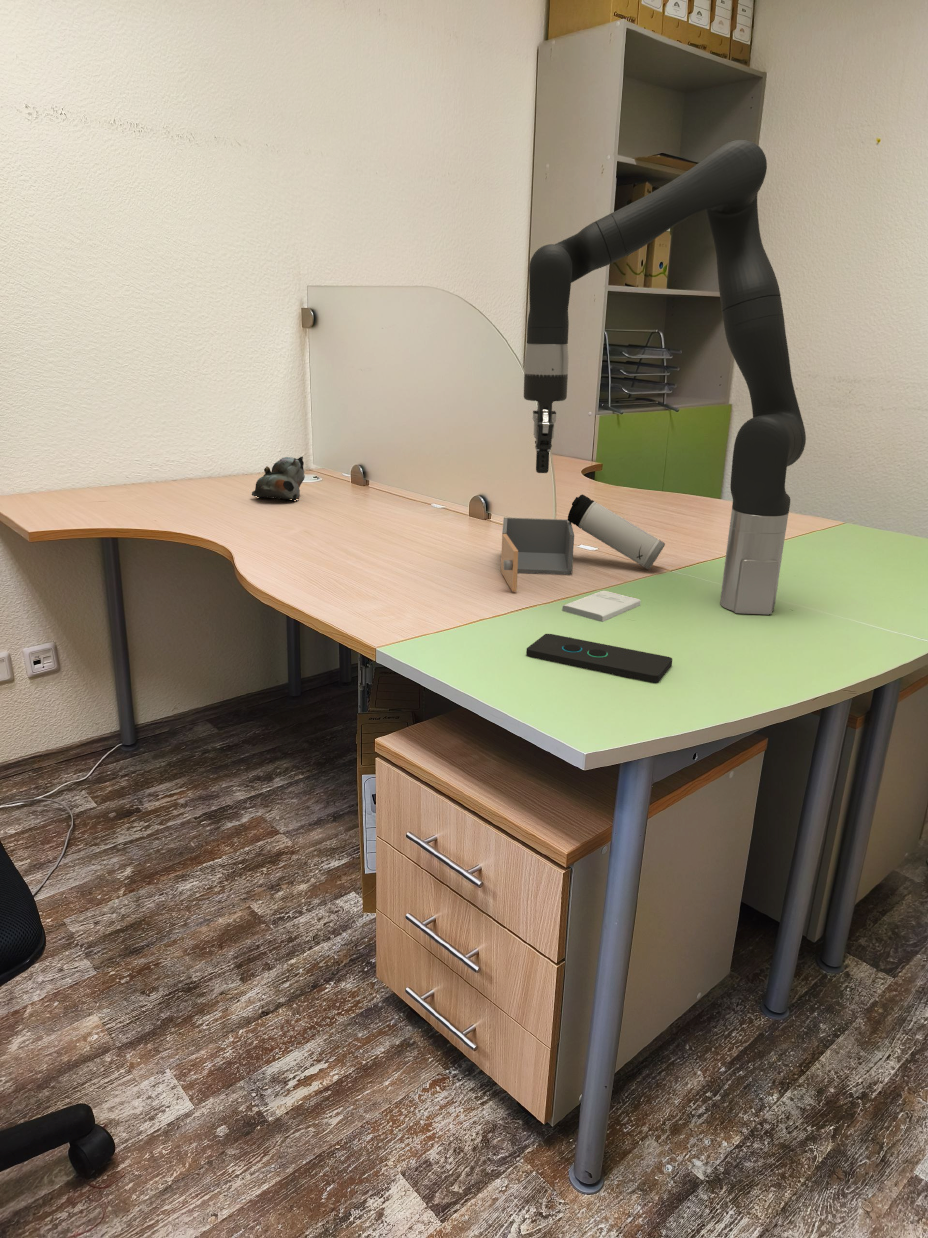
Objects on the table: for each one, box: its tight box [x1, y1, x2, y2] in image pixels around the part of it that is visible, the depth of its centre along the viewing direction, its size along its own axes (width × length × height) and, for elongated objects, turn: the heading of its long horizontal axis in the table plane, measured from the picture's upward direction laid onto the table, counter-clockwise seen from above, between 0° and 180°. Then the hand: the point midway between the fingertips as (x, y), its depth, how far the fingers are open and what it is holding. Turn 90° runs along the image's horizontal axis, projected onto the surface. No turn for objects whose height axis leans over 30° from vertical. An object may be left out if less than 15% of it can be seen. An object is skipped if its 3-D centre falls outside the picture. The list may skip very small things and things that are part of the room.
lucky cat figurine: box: [251, 456, 306, 500], centre depth 227 cm, size 15×12×14 cm
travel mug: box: [567, 494, 666, 570], centre depth 170 cm, size 6×7×20 cm
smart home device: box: [525, 633, 673, 684], centre depth 122 cm, size 8×2×20 cm
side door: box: [500, 533, 518, 592], centre depth 157 cm, size 2×13×8 cm, turn 6°
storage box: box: [501, 517, 575, 576], centre depth 170 cm, size 14×14×8 cm
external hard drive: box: [561, 590, 642, 623], centre depth 145 cm, size 2×8×12 cm
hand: (542, 472), depth 149 cm, fingers closed
